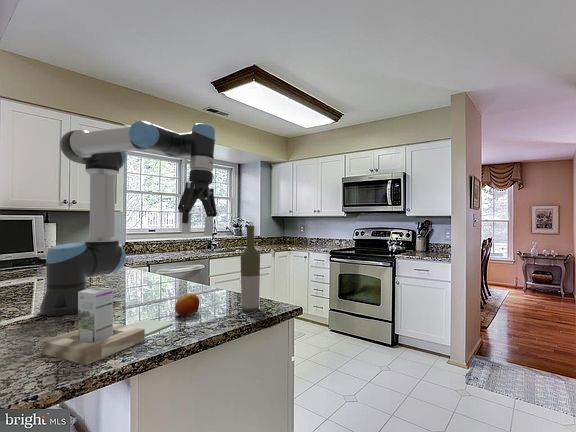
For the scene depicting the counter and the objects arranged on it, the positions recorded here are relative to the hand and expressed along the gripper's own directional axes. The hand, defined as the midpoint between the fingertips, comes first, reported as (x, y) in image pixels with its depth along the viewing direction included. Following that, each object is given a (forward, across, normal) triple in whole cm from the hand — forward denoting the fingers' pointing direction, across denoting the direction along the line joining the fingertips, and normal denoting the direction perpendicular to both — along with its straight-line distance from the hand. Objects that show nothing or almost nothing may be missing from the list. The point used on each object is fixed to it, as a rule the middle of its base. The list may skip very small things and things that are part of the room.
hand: (197, 234), depth 108 cm
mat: (+28, -11, +9) cm, 32 cm away
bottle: (+26, +15, -14) cm, 33 cm away
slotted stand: (+29, -27, +11) cm, 41 cm away
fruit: (+27, +5, +5) cm, 28 cm away
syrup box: (+30, -27, +11) cm, 41 cm away
